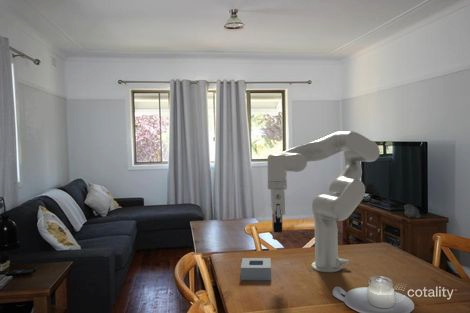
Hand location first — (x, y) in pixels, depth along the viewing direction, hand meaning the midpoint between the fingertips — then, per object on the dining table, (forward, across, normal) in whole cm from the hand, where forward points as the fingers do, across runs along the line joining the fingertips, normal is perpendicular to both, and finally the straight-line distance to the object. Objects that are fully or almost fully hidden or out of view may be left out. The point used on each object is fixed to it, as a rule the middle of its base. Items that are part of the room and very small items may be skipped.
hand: (277, 230), depth 153 cm
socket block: (+20, +5, +8) cm, 22 cm away
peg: (+3, 0, 0) cm, 3 cm away
